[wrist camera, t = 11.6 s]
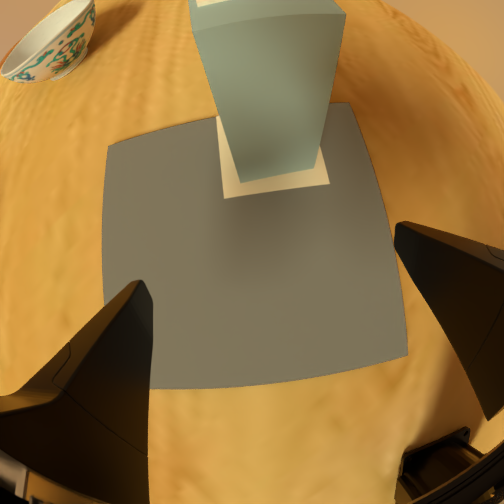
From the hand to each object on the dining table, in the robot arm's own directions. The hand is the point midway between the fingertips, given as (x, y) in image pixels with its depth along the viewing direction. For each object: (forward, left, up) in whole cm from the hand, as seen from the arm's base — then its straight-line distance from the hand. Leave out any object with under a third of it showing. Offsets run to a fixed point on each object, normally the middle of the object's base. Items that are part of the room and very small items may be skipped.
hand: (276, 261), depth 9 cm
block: (-1, -9, -8) cm, 12 cm away
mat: (+2, -3, -8) cm, 9 cm away
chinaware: (+23, -32, -9) cm, 41 cm away
